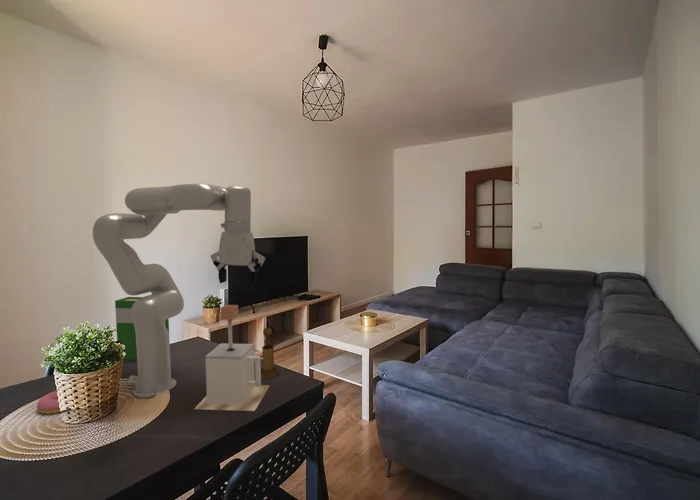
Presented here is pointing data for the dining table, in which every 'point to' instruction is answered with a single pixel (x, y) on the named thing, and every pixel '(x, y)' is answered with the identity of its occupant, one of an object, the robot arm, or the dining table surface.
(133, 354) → the hardback book
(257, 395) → the birch board
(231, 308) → the brown square-faced block
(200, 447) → the dining table surface
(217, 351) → the press pot
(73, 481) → the dining table surface
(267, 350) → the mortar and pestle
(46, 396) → the doughnut
